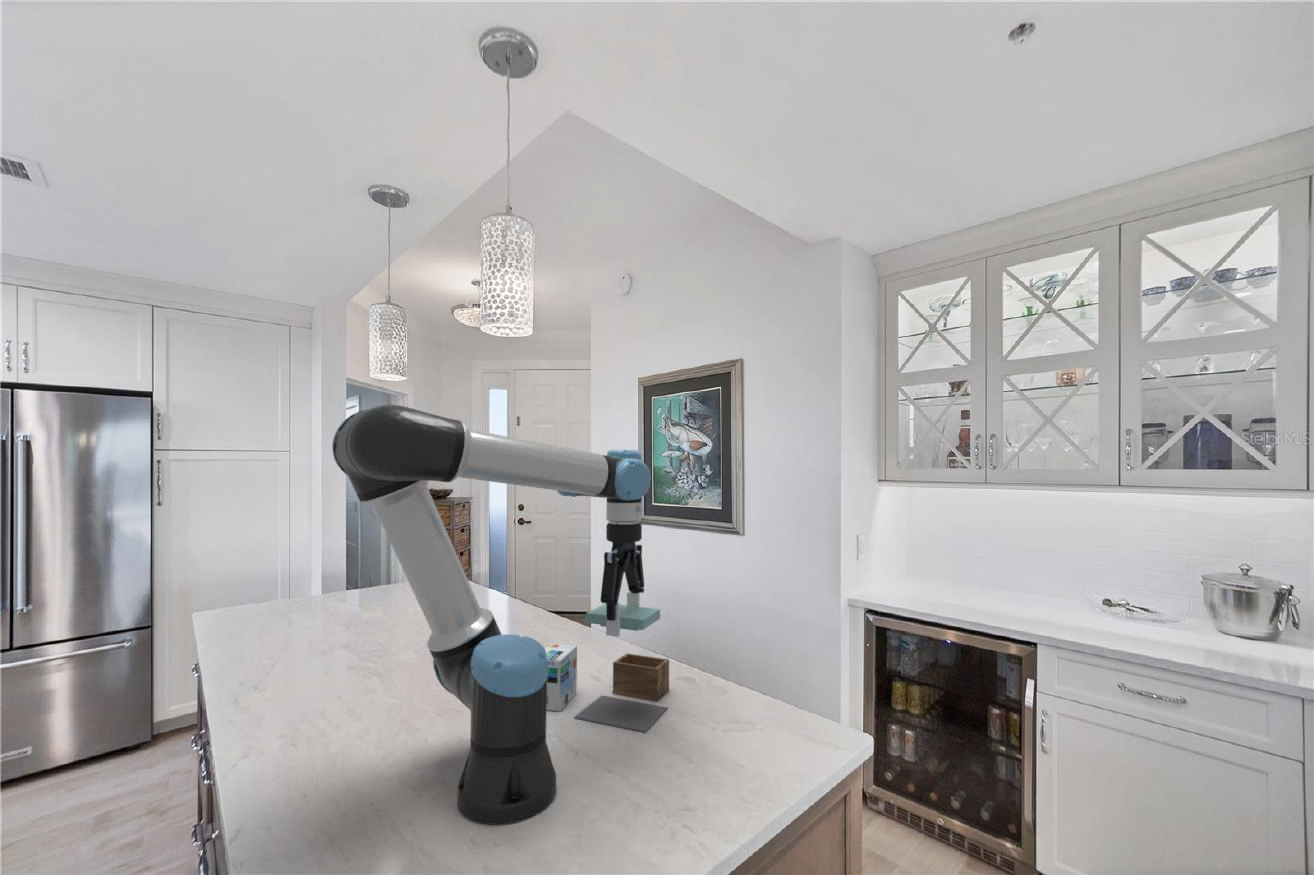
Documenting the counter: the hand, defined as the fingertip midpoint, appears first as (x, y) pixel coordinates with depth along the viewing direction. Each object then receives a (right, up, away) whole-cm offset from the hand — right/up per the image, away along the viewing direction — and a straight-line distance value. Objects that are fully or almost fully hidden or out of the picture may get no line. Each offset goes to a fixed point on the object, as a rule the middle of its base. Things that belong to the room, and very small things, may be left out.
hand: (623, 629), depth 122 cm
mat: (0, -17, -1) cm, 17 cm away
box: (+3, -18, +11) cm, 21 cm away
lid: (0, +1, 0) cm, 1 cm away
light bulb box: (-15, -18, +5) cm, 24 cm away
